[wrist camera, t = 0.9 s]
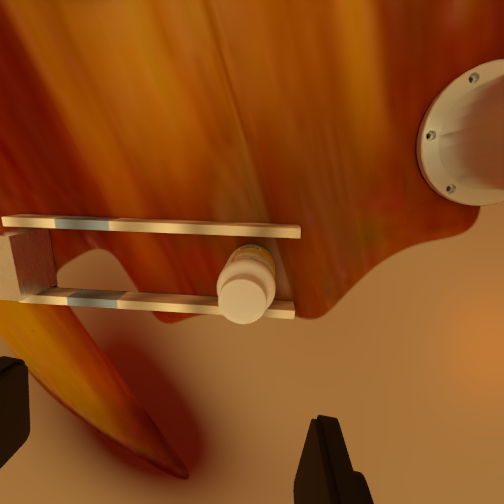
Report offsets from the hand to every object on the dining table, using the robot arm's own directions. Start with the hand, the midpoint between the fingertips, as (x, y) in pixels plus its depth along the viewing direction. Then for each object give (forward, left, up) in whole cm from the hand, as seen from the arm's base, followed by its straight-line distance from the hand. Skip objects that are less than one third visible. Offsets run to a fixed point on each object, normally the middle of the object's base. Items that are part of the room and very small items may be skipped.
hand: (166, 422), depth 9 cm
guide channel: (+10, +2, -23) cm, 25 cm away
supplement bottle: (-1, +2, -23) cm, 23 cm away
